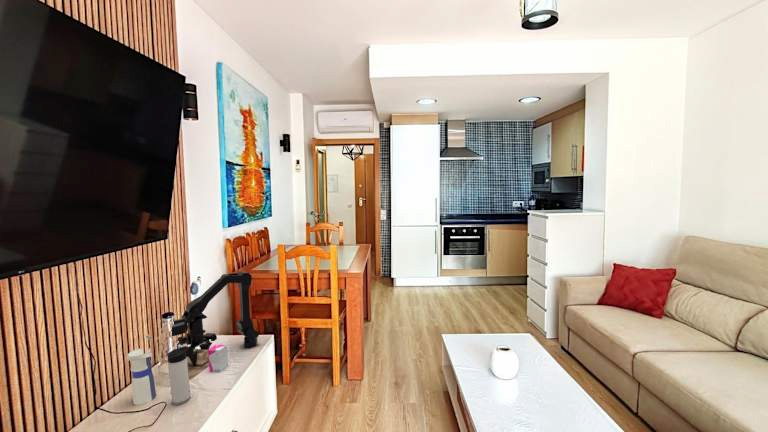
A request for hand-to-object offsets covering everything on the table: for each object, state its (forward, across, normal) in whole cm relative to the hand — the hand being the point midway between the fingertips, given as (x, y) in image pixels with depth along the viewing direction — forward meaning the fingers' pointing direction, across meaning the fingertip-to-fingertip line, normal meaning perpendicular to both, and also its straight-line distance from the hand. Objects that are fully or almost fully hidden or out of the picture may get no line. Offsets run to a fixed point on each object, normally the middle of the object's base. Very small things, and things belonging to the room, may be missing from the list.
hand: (199, 362), depth 161 cm
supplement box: (+2, +2, +13) cm, 14 cm away
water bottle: (+2, +25, -3) cm, 26 cm away
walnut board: (+2, +2, 0) cm, 3 cm away
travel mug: (+2, +23, +13) cm, 27 cm away
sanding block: (0, 0, 0) cm, 0 cm away
